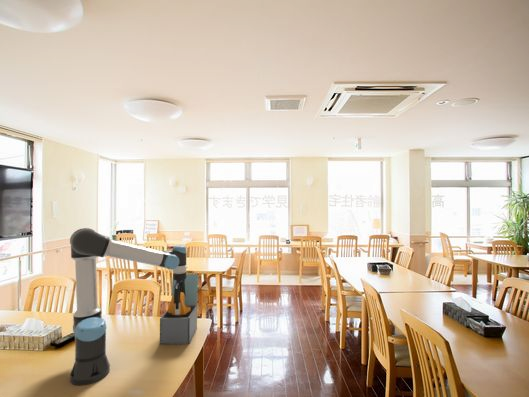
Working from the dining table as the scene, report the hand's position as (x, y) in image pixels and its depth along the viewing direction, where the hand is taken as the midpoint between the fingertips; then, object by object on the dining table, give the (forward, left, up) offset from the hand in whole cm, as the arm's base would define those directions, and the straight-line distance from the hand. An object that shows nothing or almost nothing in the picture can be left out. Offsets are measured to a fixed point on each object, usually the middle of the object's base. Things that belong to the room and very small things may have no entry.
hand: (179, 311), depth 164 cm
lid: (+12, 0, +9) cm, 15 cm away
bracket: (0, 0, -1) cm, 1 cm away
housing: (0, 0, -14) cm, 14 cm away
